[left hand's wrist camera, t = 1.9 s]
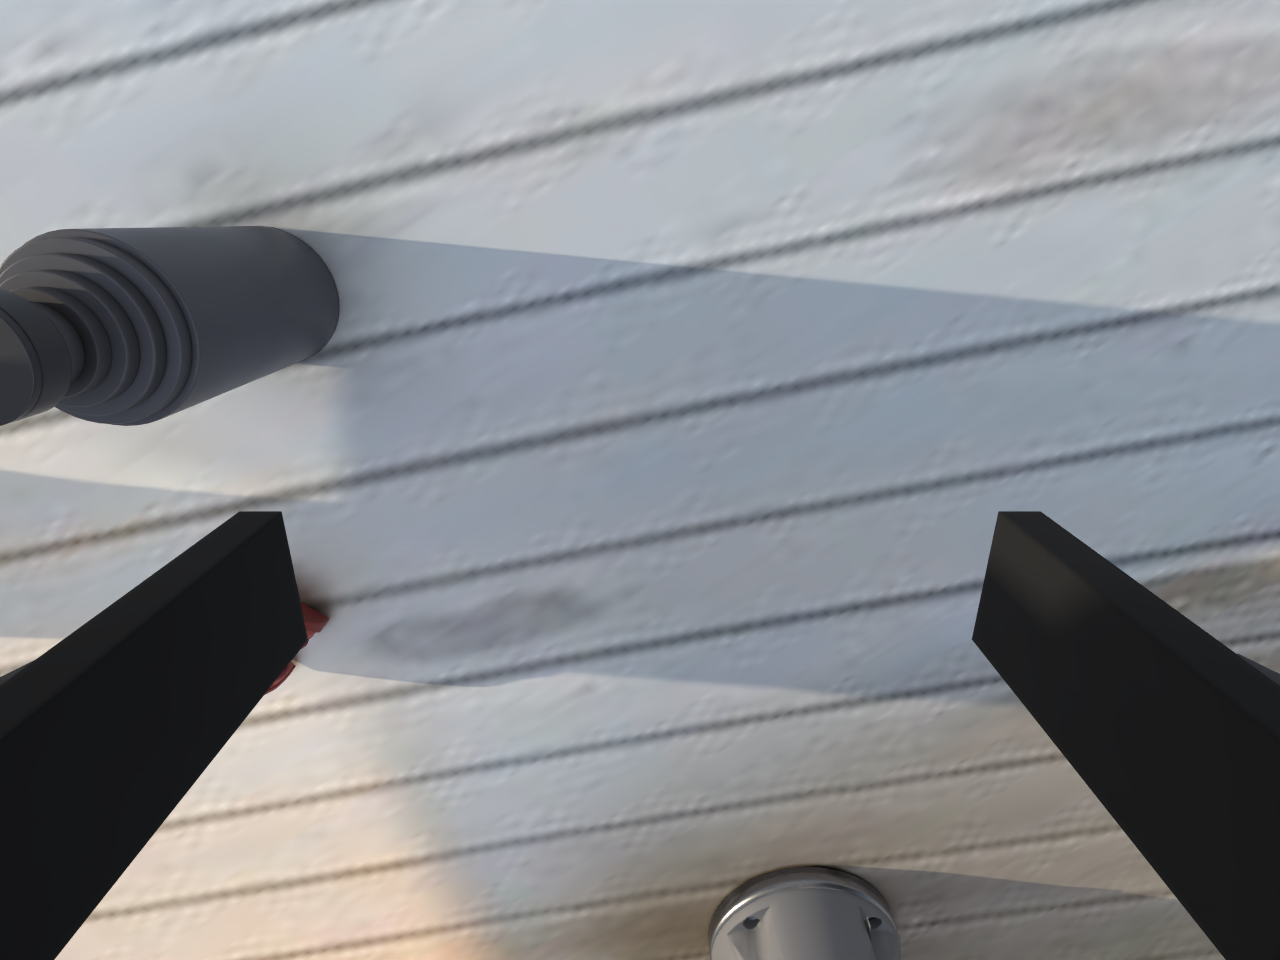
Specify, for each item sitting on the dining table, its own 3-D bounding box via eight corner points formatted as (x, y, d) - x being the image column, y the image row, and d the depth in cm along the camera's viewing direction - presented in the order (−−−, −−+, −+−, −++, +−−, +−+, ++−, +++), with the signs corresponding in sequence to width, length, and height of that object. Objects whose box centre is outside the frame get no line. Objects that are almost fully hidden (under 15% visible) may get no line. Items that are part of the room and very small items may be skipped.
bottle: (241, 375, 40) (-60, 493, 23) (180, 245, 37) (-212, 266, 20) (359, 345, 39) (142, 442, 22) (306, 210, 36) (13, 201, 19)
